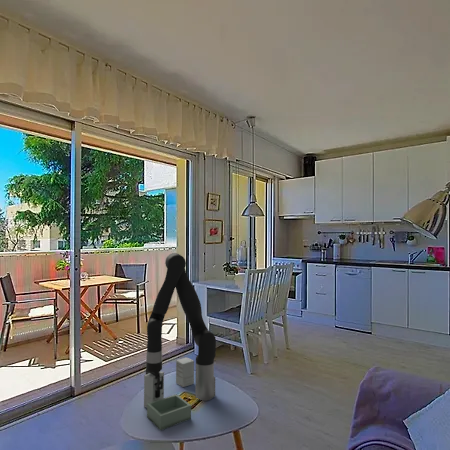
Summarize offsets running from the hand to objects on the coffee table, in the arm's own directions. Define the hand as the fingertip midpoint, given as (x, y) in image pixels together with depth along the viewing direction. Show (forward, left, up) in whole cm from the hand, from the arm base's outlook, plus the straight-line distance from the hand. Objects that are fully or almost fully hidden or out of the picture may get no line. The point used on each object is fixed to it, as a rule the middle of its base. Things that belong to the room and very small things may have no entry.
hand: (153, 394), depth 166 cm
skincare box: (0, 0, -5) cm, 5 cm away
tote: (0, +15, -5) cm, 16 cm away
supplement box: (-24, -11, -5) cm, 27 cm away
